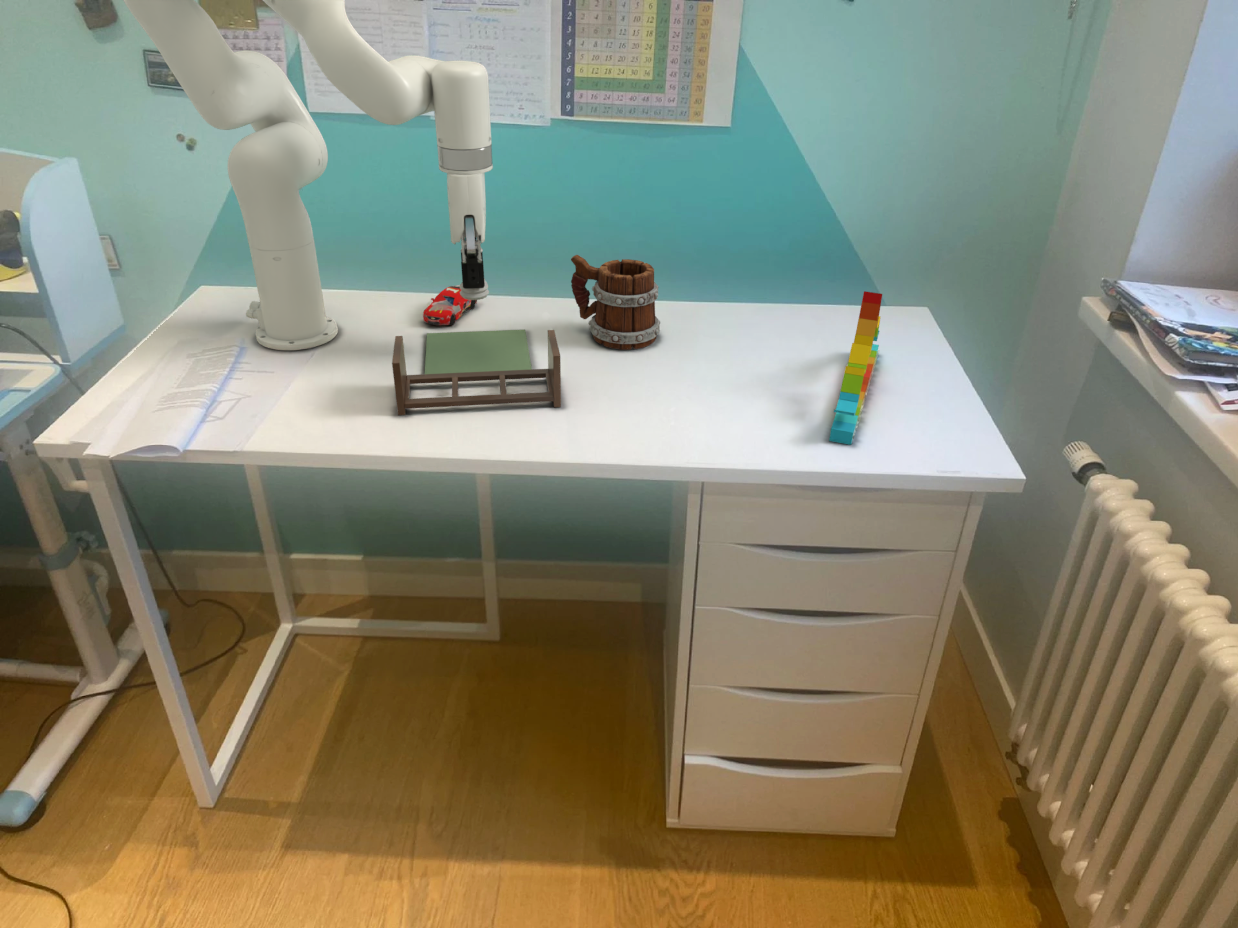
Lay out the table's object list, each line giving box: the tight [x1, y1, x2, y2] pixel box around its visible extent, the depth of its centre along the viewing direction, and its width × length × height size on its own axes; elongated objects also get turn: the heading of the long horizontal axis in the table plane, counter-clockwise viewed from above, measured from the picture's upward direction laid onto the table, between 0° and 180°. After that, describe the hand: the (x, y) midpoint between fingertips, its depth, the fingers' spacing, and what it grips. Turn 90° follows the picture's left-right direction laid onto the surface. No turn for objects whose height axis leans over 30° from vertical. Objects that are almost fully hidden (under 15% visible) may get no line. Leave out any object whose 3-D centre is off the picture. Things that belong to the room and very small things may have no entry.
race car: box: [422, 284, 478, 326], centre depth 157 cm, size 13×5×4 cm, turn 161°
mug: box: [570, 254, 661, 351], centre depth 148 cm, size 12×14×15 cm
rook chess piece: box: [459, 246, 490, 301], centre depth 137 cm, size 4×4×8 cm
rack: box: [391, 329, 562, 416], centre depth 130 cm, size 9×23×8 cm, turn 99°
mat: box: [424, 329, 533, 374], centre depth 144 cm, size 16×16×1 cm
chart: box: [828, 291, 883, 446], centre depth 132 cm, size 30×3×15 cm, turn 160°
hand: (473, 281), depth 138 cm, fingers closed on rook chess piece, 3 cm apart
